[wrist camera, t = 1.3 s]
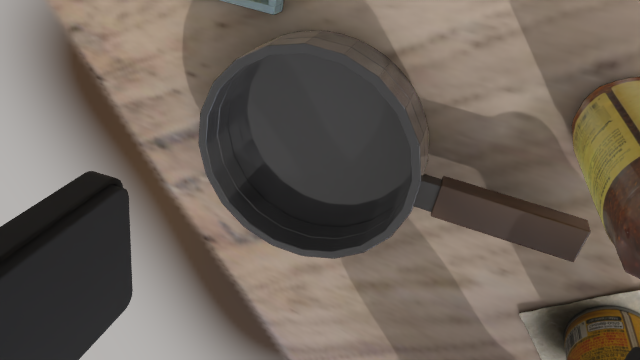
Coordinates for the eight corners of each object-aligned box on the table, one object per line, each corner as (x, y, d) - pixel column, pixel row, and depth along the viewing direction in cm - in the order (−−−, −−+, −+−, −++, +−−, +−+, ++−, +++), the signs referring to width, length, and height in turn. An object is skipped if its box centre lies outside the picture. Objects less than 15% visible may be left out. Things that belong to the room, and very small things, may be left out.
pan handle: (422, 168, 33) (419, 178, 32) (588, 219, 31) (591, 232, 30) (412, 199, 34) (408, 209, 33) (571, 249, 33) (573, 262, 31)
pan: (235, 4, 34) (205, 16, 31) (459, 64, 32) (453, 84, 28) (218, 192, 42) (193, 218, 39) (396, 253, 40) (386, 286, 36)
